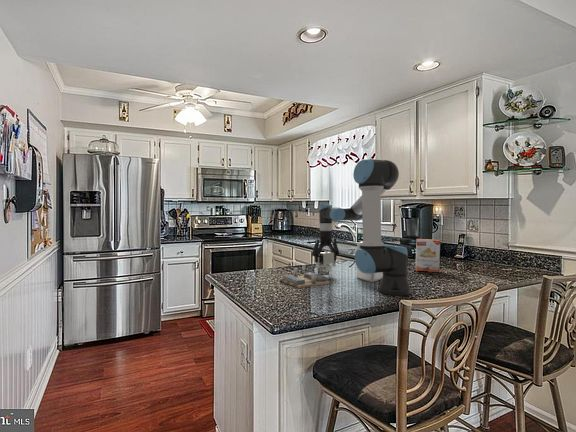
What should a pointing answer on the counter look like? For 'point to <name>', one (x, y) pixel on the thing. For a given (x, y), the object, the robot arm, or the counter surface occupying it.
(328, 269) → the pneumatic valve
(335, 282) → the counter surface
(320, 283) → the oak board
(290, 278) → the hinge leaves
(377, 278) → the soap dispenser
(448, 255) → the counter surface
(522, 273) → the counter surface
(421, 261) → the cracker box
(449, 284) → the counter surface
